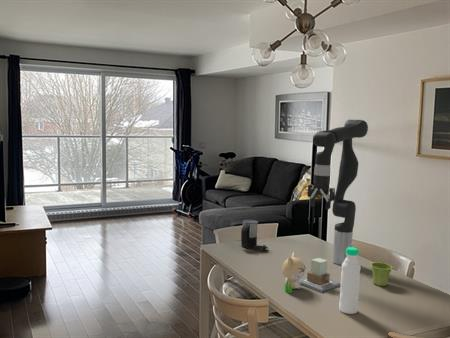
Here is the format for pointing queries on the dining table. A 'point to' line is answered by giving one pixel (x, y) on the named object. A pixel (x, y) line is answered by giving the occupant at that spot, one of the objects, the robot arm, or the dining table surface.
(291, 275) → the kitten
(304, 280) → the plate
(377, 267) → the plant pot
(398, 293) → the dining table surface
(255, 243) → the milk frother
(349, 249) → the water bottle
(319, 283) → the walnut base block
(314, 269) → the sage block
